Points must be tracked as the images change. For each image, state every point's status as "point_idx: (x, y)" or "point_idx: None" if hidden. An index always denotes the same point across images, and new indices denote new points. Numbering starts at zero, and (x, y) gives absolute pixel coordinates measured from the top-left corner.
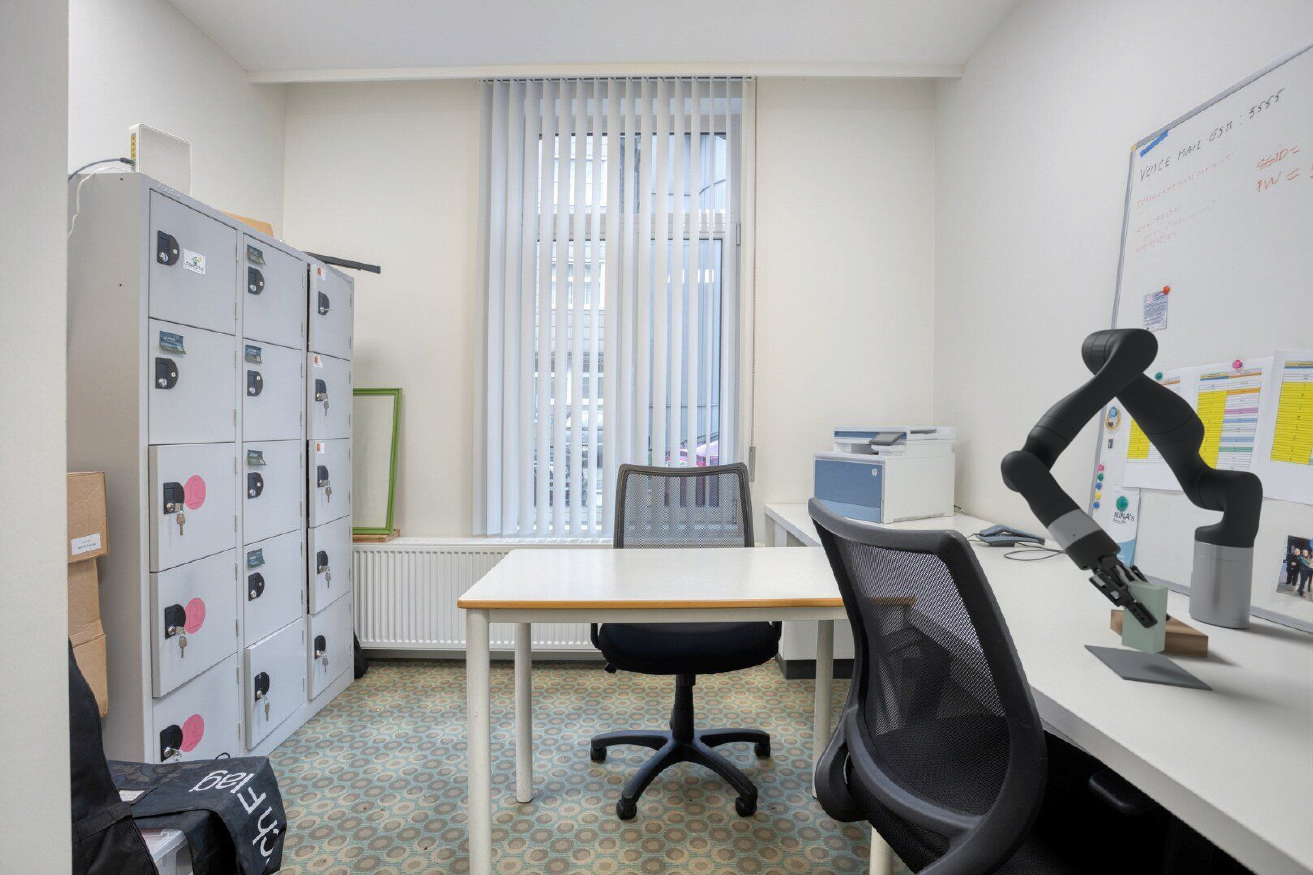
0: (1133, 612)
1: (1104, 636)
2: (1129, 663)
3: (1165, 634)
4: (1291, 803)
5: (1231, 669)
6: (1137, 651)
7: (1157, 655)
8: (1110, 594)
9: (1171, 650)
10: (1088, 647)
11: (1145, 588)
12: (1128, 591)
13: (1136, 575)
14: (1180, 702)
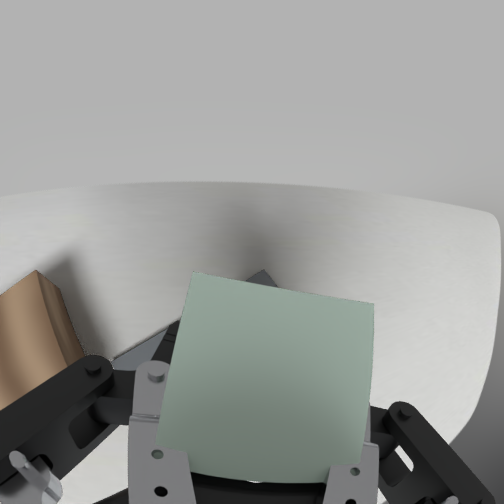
0: None
1: None
2: None
3: (63, 349)
4: (467, 211)
5: (98, 255)
6: None
7: (131, 367)
8: (393, 478)
9: (77, 343)
10: None
11: (368, 366)
12: (367, 439)
13: (31, 451)
14: (373, 297)
